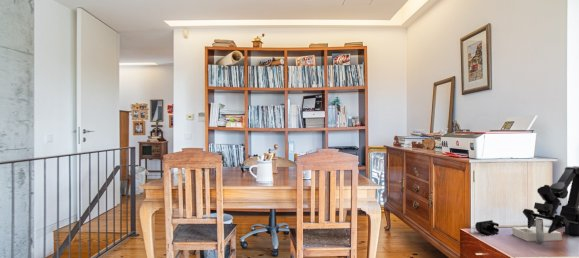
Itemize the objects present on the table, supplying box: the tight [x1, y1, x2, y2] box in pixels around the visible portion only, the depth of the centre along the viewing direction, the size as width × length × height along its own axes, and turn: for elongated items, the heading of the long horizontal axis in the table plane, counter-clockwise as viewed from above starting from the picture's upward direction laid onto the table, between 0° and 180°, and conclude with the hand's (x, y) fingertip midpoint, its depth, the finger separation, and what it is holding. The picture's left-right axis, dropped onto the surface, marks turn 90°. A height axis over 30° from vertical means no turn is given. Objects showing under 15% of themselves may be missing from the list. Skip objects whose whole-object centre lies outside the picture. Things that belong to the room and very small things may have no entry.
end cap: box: [474, 219, 500, 237], centre depth 177 cm, size 10×7×7 cm
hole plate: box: [511, 226, 563, 242], centre depth 168 cm, size 18×11×4 cm, turn 89°
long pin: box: [535, 217, 545, 245], centre depth 159 cm, size 3×3×12 cm
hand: (538, 230), depth 159 cm, fingers open, 9 cm apart
